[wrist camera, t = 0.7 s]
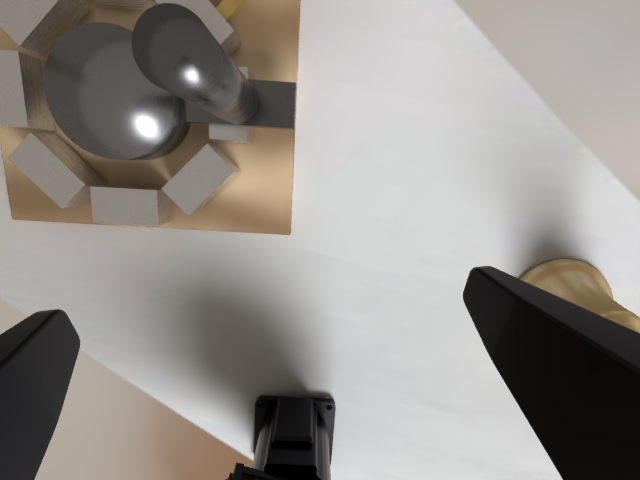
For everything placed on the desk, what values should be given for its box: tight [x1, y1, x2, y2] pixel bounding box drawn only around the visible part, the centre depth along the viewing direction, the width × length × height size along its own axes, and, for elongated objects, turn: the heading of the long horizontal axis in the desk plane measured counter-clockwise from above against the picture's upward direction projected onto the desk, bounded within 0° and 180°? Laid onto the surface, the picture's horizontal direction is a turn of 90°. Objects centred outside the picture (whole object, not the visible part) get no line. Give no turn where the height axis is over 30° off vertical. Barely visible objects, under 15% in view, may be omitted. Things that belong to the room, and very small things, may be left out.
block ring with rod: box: [0, 0, 297, 226], centre depth 15 cm, size 15×18×11 cm
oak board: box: [0, 0, 300, 235], centre depth 21 cm, size 16×19×1 cm
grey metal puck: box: [43, 22, 192, 160], centre depth 19 cm, size 7×7×3 cm
